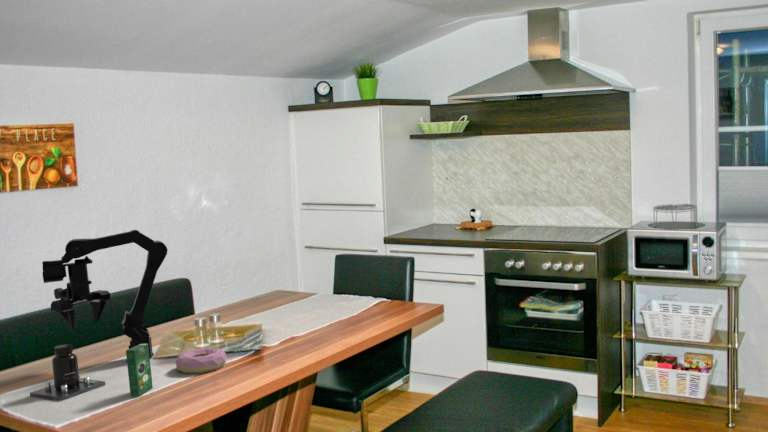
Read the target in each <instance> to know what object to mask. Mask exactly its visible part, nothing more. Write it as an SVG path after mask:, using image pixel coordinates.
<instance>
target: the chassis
mask: <svg viewBox="0 0 768 432" xmlns="http://www.w3.org/2000/svg"><path fill="white" fill-rule="evenodd" d="M79 381H80V384H79V386H77V387H75V388H72V389H68V388H67V385H61V390H57V389H56V388H55V385H54V384H51V382H49V381H48V382H47V381H46V382H44V387H41V388H39V389H36V390H33V391H31V392H29V396H30V397H33V398H39V399H46V400H52V401H58V402H62V401H65V400H68V399H70V398H74V397H76V396H79V395H82V394H84V393H87V392H90V391H92V390H96V389H99V388H100V387H104V386H105V385H106V381H103V380H98V379H90V377H89V376H85V377H79Z"/></svg>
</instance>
